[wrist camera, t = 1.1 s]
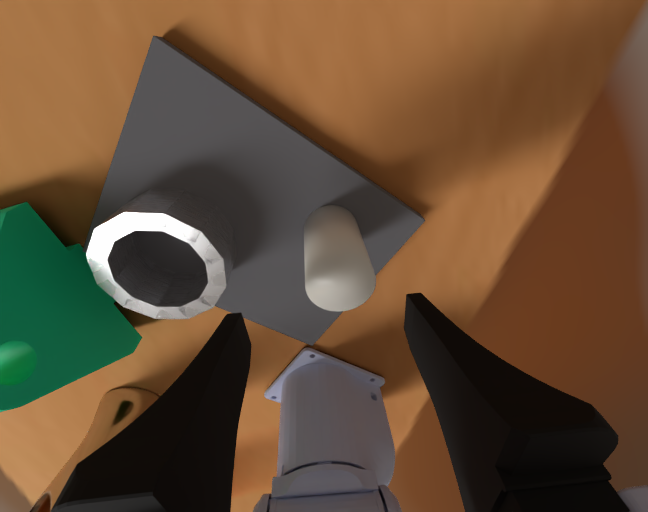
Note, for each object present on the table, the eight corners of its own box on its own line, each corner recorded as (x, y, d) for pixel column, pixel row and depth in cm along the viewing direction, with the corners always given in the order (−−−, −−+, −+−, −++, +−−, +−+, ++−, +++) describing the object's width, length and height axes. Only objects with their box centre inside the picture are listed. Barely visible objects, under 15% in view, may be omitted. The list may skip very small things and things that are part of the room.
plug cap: (368, 222, 21) (390, 275, 16) (336, 261, 22) (348, 320, 17) (323, 194, 19) (332, 242, 14) (293, 237, 21) (291, 294, 16)
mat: (420, 214, 22) (425, 220, 21) (311, 337, 27) (312, 345, 27) (161, 37, 15) (153, 35, 15) (90, 243, 21) (82, 251, 20)
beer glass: (153, 378, 29) (40, 625, 16) (182, 419, 33) (108, 646, 20) (81, 390, 29) (-87, 643, 16) (118, 429, 33) (5, 660, 20)
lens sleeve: (254, 225, 20) (246, 254, 17) (209, 299, 23) (196, 334, 20) (140, 165, 18) (108, 186, 15) (106, 256, 21) (74, 288, 18)
